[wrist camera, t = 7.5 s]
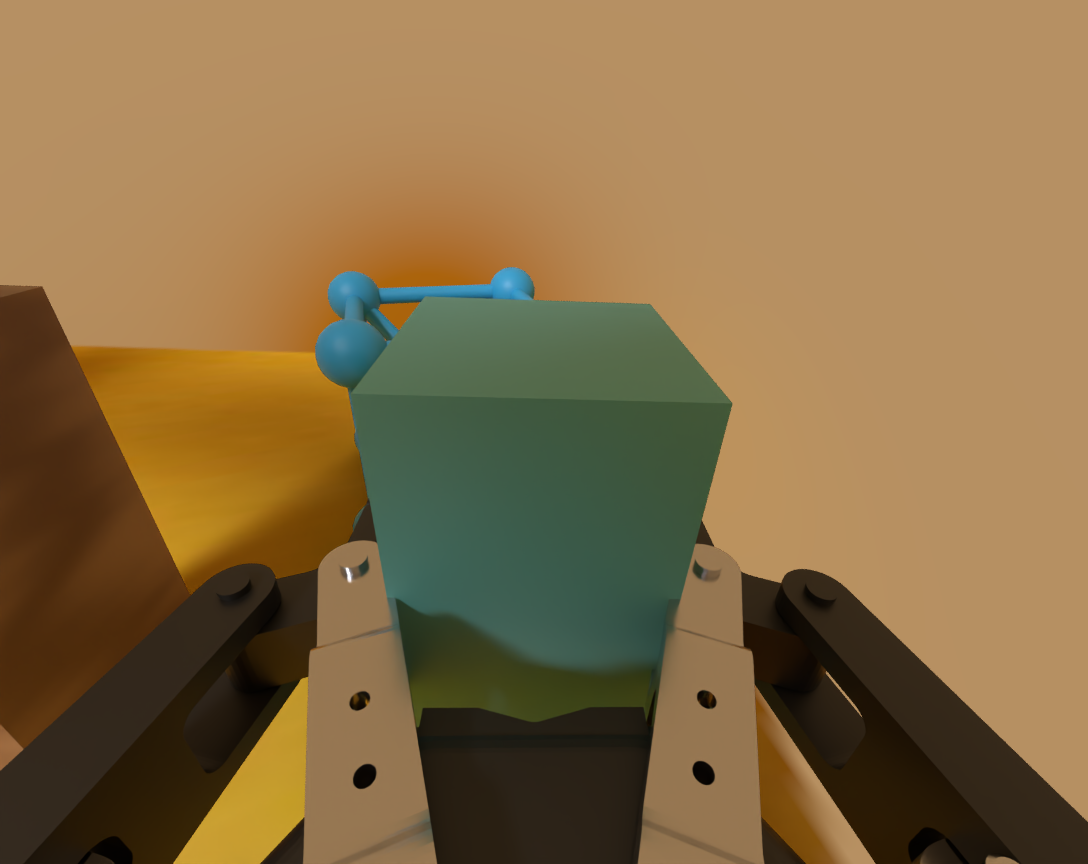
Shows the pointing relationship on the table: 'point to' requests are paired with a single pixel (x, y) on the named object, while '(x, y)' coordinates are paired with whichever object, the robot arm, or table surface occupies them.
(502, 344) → the teal pillar
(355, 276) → the molecular structure
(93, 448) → the walnut pillar
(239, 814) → the table surface
